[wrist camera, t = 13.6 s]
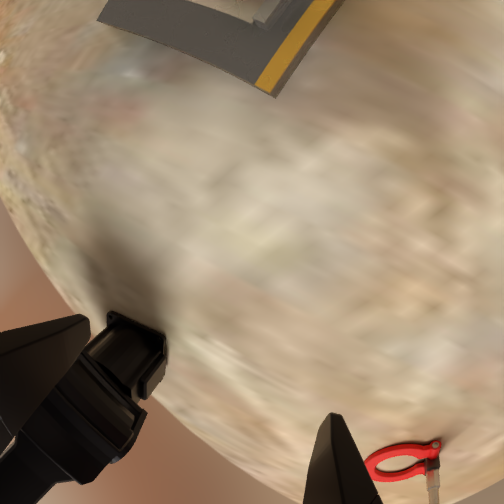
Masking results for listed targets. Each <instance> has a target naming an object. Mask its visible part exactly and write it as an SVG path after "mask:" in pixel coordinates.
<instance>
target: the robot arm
mask: <svg viewBox="0 0 504 504" xmlns="http://www.w3.org/2000/svg"><path fill="white" fill-rule="evenodd" d="M90 336H91V331H90V321H89V319H88V318H87V317H86V316H84V315H82V314H76V315H72V316H68V317H63V318H59V319H55V320H51V321H46V322H43V323H38V324H34V325H29V326H25V327H21V328H16V329H12V330H8V331H4V332H2V333H1V332H0V504H36V503H37V502H38V501H39V500H40V499H41V498H42V497H43V496H44V495H45V494H46V493H47V492H48V491H49V490H50V489H51V488H52V487H53V486H54V485H55V484H56V483H62V482H69V481H76V482H78V483H79V484H80V485H83V484H86V483H90V482H92V481H94V480H95V478H96V477H97V476H98V475H99V473H100V472H101V471H102V470H103V469H104V467H105V466H106V465H107V464H109V463H110V464H112V463H115V462H117V461H119V460H120V459H122V458H123V457H124V456H125V455H126V454H127V453H128V452H129V450H130V449H131V448H132V446H133V445H134V443H135V441H136V439H137V436H138V434H139V432H140V429H141V427H142V425H143V423H144V420H145V418H146V416H147V414H148V413H147V412H146V411H145V410H144V409H142V408H141V407H139V406H138V405H137V403H138V402H139V401H140V399H143V400H146V399H148V397H149V396H150V395H151V393H152V392H153V390H154V389H155V388H156V386H157V385H158V383H159V382H161V381H162V379H163V376H164V375H165V369H166V356H165V344H166V338H165V336H164V335H163V334H161V333H159V332H157V331H154V330H152V329H150V328H148V327H145V326H143V325H141V324H139V323H137V322H135V321H132V320H130V319H128V318H126V317H124V316H122V315H120V314H118V313H116V312H114V311H109V312H108V313H107V327H106V328H105V329H104V330H103V331H101V332H100V333H99V334H98V335H97V336H96V337H95V338H94V339H93V340H91V341H90V342H89V343H88V341H89V339H90ZM159 338H160V339H159ZM87 343H88V344H87ZM86 344H87V345H86ZM85 345H86V346H85ZM15 435H16V437H15V441H14V442H13V443H12V444H11V445H10V446H9V447H8V448H7V449H6V447H7V446H8V445H9V443H10V442H11V441H12V439H13V438H14V436H15ZM5 449H6V450H5ZM4 450H5V451H4ZM3 451H4V452H3ZM377 494H378V492H377V489H376V487H375V485H374V483H373V481H372V479H371V476H370V474H369V472H368V470H367V468H366V466H365V463H364V461H363V459H362V457H361V455H360V453H359V451H358V448H357V446H356V444H355V442H354V440H353V438H352V436H351V433H350V431H349V429H348V427H347V425H346V423H345V421H344V418H343V416H342V415H340V414H336V413H329V414H328V415H327V417H326V418H325V420H324V421H323V423H322V424H321V425H320V427H319V430H318V433H317V437H316V441H315V445H314V449H313V453H312V457H311V460H310V464H309V468H308V474H307V480H306V487H305V493H304V499H303V504H383V502H382V500H381V498H380V496H379V495H377Z"/></svg>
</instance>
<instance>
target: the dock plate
mask: <svg viewBox="0 0 504 504" xmlns="http://www.w3.org/2000/svg"><path fill="white" fill-rule="evenodd" d="M344 1H345V0H108V2H107V4H106V5H105V7H104V8H103V10H102V12H101V13H100V15H99V17H98V19H97V20H96V21H99V22H101V23H104V24H107V25H109V26H112V27H115V28H119V29H122V30H125V31H128V32H131V33H134V34H137V35H139V36H142V37H145V38H148V39H150V40H153V41H156V42H158V43H161V44H164V45H166V46H169V47H171V48H174V49H176V50H178V51H181V52H183V53H186V54H188V55H190V56H192V57H195V58H197V59H199V60H201V61H204V62H206V63H208V64H210V65H212V66H214V67H216V68H219V69H221V70H223V71H225V72H227V73H229V74H231V75H233V76H235V77H237V78H239V79H241V80H243V81H244V82H246V83H248V84H250V85H252V86H254V87H256V88H258V89H259V90H261V91H263V92H265V93H267V94H268V95H270V96H272V97H274V98H275V99H276V97H277V96H278V94H279V93H280V91H281V90H282V88H283V87H284V85H285V84H286V82H287V81H288V79H289V78H290V76H291V75H292V73H293V72H294V70H295V69H296V68H297V66H298V65H299V63H300V62H301V60H302V59H303V57H304V56H305V55H306V53H307V52H308V50H309V49H310V47H311V46H312V45H313V43H314V42H315V40H316V39H317V38H318V36H319V35H320V33H321V32H322V31H323V29H324V28H325V26H326V25H327V24H328V22H329V21H330V20H331V18H332V17H333V16H334V14H335V13H336V12H337V10H338V9H339V8H340V6H341V5H342V4H343V2H344Z"/></svg>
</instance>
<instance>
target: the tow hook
mask: <svg viewBox="0 0 504 504" xmlns="http://www.w3.org/2000/svg"><path fill="white" fill-rule="evenodd" d="M440 448H441V442H440V441H438V440H435V441H432V442H431V444H430V445H425V446H422V445H417V444H401V445H395V446H391V447H387V448H384V449H381V450H379V451H377V452H375V453H373V454H372V455H370V456H369V457H368V458H367V459H366V460H365V461H364V463H365V466H366V468H367V470H368V472H369V474H370V476H371V479H372V480H374V481H379V482H394V481H401V480H404V479H408V478H411V477H413V476H415V475H418V474H423V475H425V476H426V484H427V491H428V492H429V504H439V487H440V477H439V468H440V460H439V451H440ZM401 455H409V456H414V457H416V458H418V459H422V458H425V461H424V463H418V464H416V465H414V466H413V467H411V468H409V469H407V470H405V471H401V472H396V473H384V472H380V471H378V470H377V469H376V468H375V467H376V465H377V464H378V463H380V462H381V461H383V460H385V459H388V458H391V457H395V456H401Z"/></svg>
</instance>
